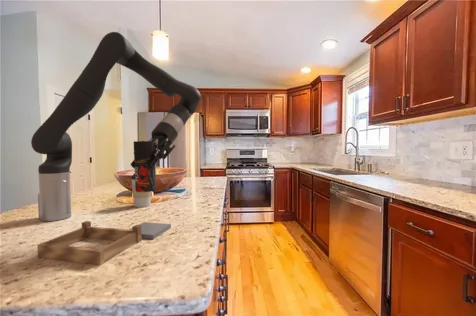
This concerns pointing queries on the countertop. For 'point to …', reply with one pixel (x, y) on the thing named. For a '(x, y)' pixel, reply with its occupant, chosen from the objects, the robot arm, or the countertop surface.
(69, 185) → the robot arm
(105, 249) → the wood frame
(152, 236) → the slate coaster
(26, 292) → the countertop surface
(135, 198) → the coffee cup
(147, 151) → the deodorant
